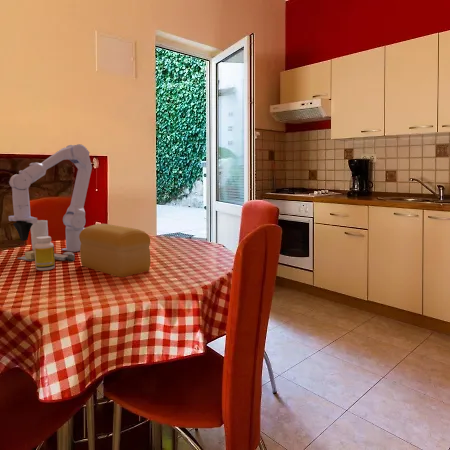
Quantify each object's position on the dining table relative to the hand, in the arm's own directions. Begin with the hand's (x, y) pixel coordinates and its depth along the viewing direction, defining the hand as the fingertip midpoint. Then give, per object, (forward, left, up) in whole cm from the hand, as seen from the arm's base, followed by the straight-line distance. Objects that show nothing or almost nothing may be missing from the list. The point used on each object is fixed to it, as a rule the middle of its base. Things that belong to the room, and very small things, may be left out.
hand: (24, 240), depth 154 cm
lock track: (+2, +5, -6) cm, 8 cm away
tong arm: (-3, +13, -6) cm, 15 cm away
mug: (-14, -9, -7) cm, 18 cm away
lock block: (+2, +7, -6) cm, 10 cm away
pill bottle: (+8, +23, -7) cm, 25 cm away
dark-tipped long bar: (-4, +13, -6) cm, 16 cm away
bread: (-5, +43, -7) cm, 43 cm away
